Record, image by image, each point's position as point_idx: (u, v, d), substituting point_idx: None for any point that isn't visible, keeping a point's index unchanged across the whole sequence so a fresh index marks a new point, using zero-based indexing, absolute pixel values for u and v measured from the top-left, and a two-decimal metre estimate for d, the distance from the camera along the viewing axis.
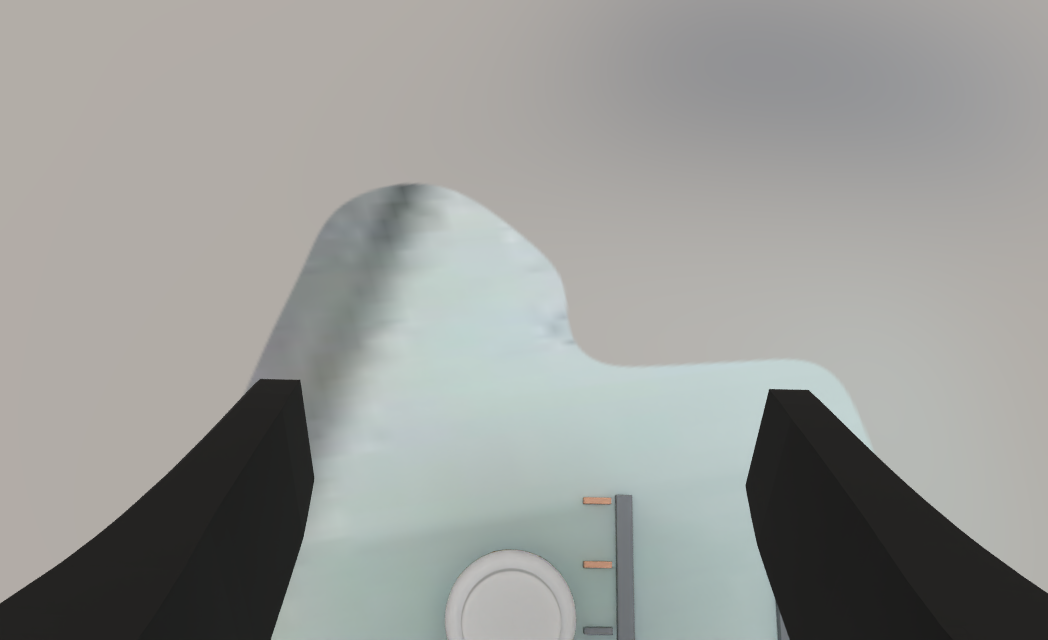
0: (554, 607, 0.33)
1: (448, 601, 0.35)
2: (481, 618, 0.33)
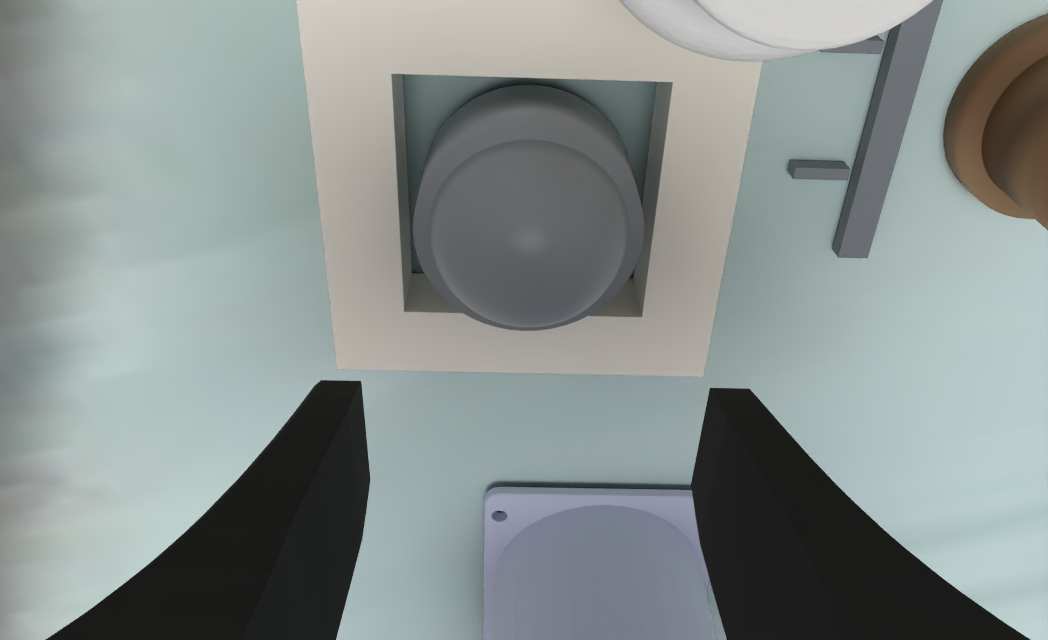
0: None
1: None
2: None
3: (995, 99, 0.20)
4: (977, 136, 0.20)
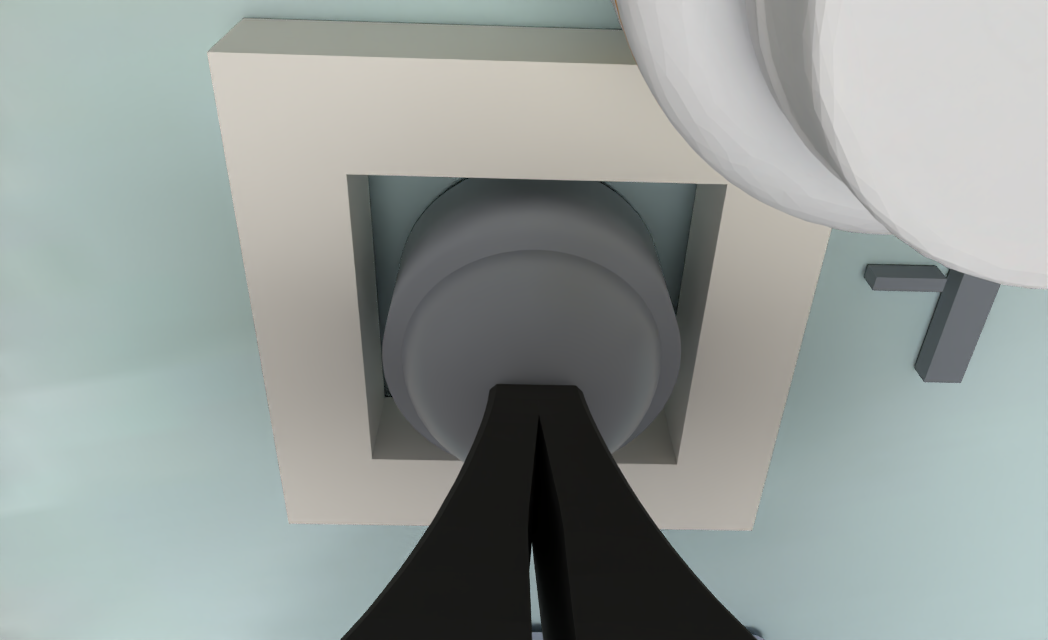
0: None
1: None
2: None
3: None
4: None
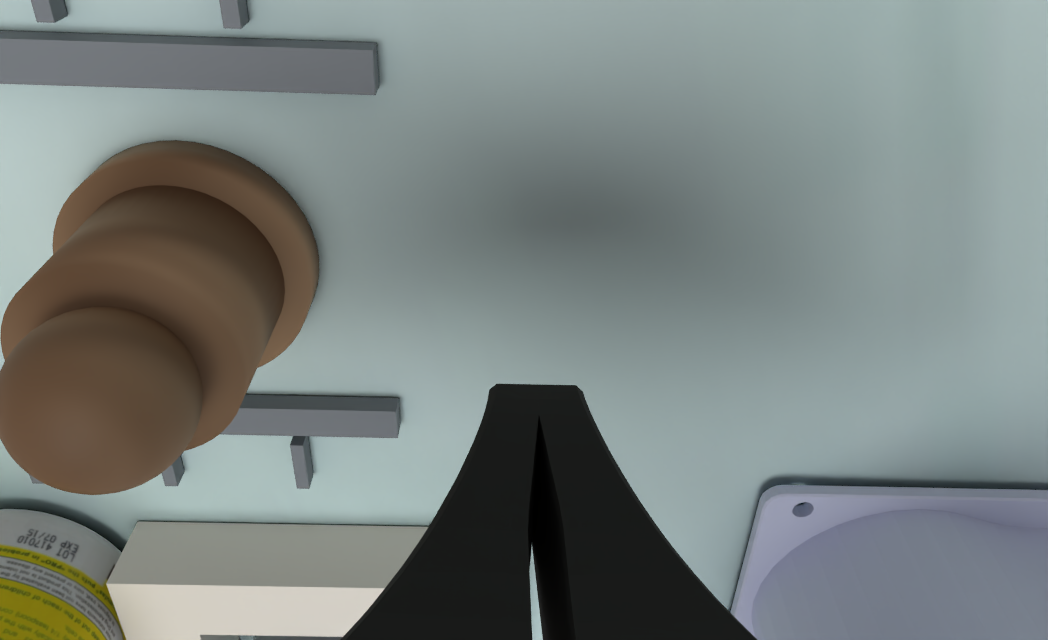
0: None
1: None
2: None
3: None
4: None
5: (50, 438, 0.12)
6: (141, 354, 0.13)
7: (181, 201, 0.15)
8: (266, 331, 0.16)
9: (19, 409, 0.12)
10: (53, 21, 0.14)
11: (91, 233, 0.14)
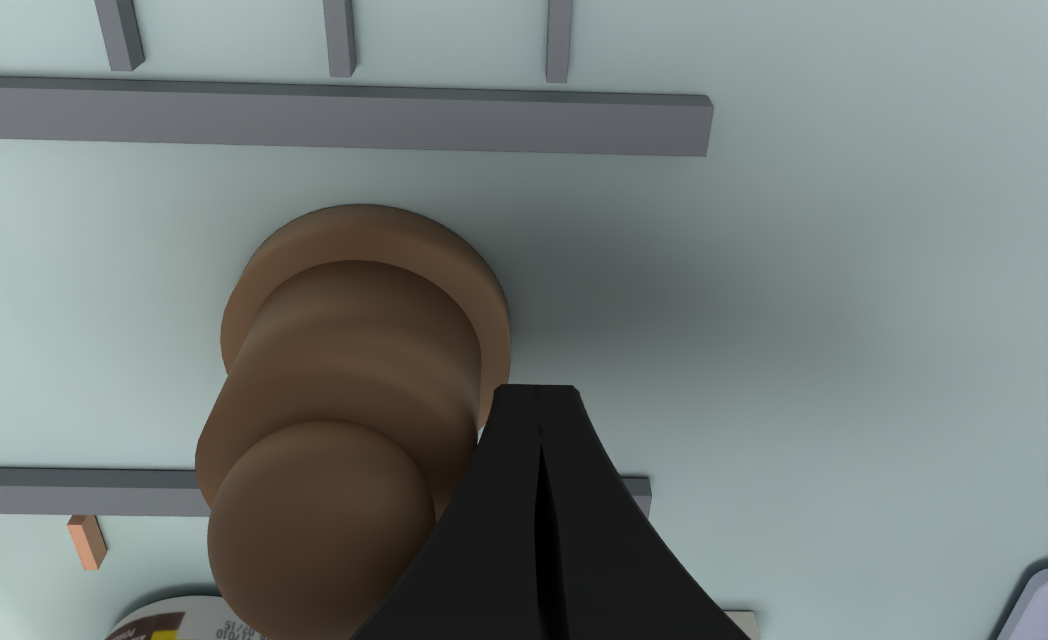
0: None
1: None
2: None
3: None
4: None
5: (293, 597, 0.10)
6: (387, 485, 0.11)
7: (385, 281, 0.13)
8: None
9: (255, 560, 0.10)
10: (349, 75, 0.12)
11: (297, 326, 0.12)
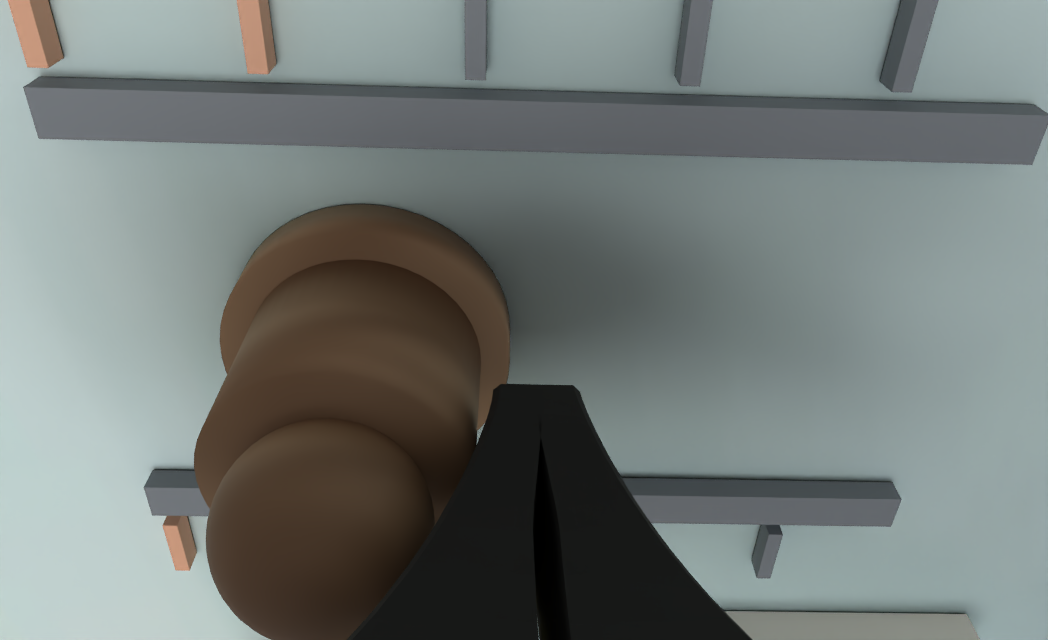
0: None
1: None
2: None
3: None
4: None
5: (292, 595, 0.10)
6: (386, 484, 0.11)
7: (384, 280, 0.13)
8: None
9: (253, 560, 0.10)
10: (698, 84, 0.13)
11: (296, 325, 0.12)
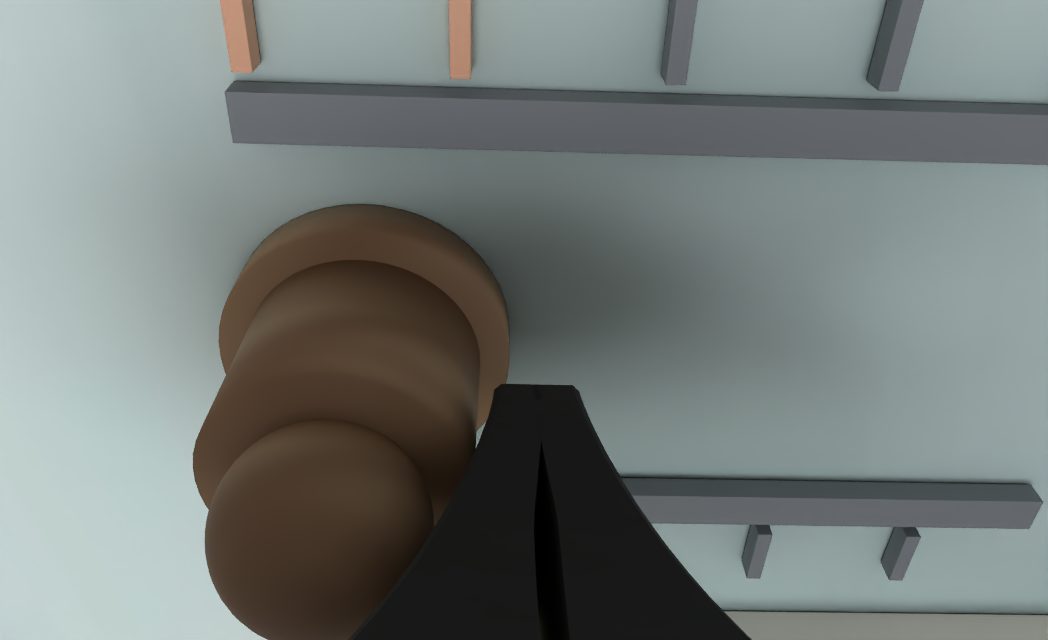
0: None
1: None
2: None
3: None
4: None
5: (290, 596, 0.10)
6: (385, 485, 0.11)
7: (383, 281, 0.13)
8: None
9: (252, 560, 0.10)
10: (896, 89, 0.13)
11: (295, 326, 0.12)
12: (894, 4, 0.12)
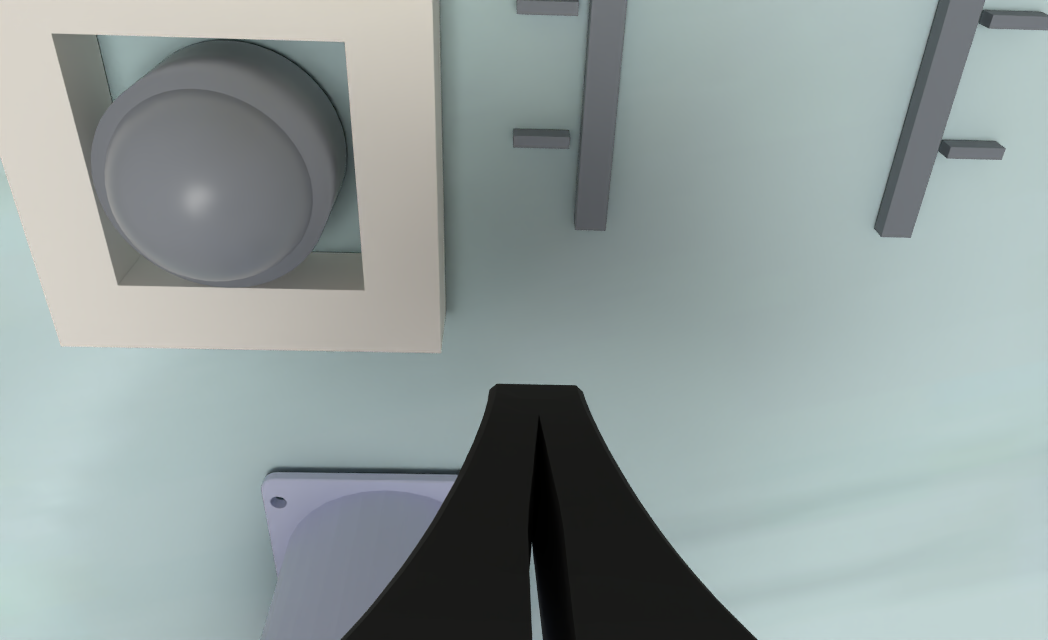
0: None
1: None
2: None
3: None
4: None
5: None
6: None
7: None
8: None
9: None
10: (989, 27, 0.20)
11: None
12: (1038, 14, 0.20)
